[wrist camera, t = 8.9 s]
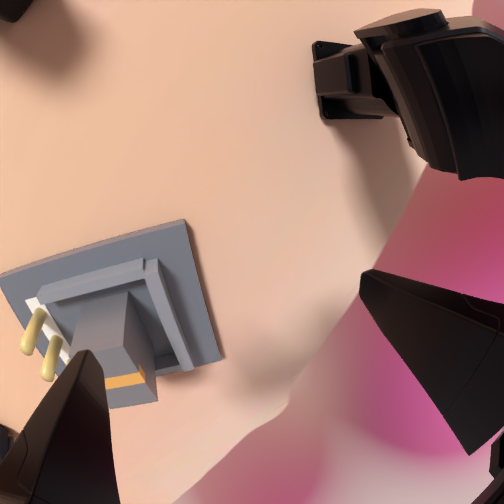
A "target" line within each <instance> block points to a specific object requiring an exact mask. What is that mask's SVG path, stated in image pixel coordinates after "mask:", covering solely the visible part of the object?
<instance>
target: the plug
mask: <svg viewBox="0 0 504 504" xmlns="http://www.w3.org/2000/svg"><path fill="white" fill-rule="evenodd" d="M85 349H89V350H91V351H92V353H93V354H94V356H95V357H96V359H97V360H98V362H99V363H100V365H101V366H102V368H103V371H104V379H105V387H106V395H107V402H108V407H109V408H110V409H114V408H121V407H128V406H134V405H140V404H145V403H151V402H156V401H158V396H157V386H156V376H155V364H154V349H153V344H152V342H151V340H150V338H149V336H148V334H147V332H146V330H145V328H144V326H143V323H142V321H141V319H140V317H139V315H138V312H137V310H136V308H135V306H134V303H133V301H132V299H131V296H130V294H129V291H124V292H120V293H116V294H112V295H108V296H104V297H100V298H97V299H93V300H89V301H85V302H83V305H82V308H81V311H80V314H79V318H78V321H77V325H76V328H75V332H74V336H73V340H72V344H71V348H70V352H69V356H68V357H69V358H70V360H71V359H72V358H73V357H74V355H75V354H76V353H77V352H78V351H80V350H85Z"/></svg>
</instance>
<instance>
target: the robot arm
mask: <svg viewBox="0 0 504 504" xmlns="http://www.w3.org/2000/svg"><path fill="white" fill-rule="evenodd" d="M353 32H354V34H355V35H356V37H357V38H358V39H360V40H361V42H362V44H358V45H355V46H353V45H347V44H340V43H333V42H325V41H316V42H314V43H313V44H312V51H313V58H314V63H313V67H314V75H315V84H316V92H317V94H318V100H319V110H320V116H321V117H322V118H323V119H382V118H383V117H384V116H391V117H400V119H401V121H402V124H403V126H404V129H405V131H406V134H407V137H408V138H407V140H408V143H409V146H410V147H412V148H413V149H415V151H416V152H417V154H418V156H420V157H421V158H422V159H424V160H425V161H426V162H428V163H429V166H430V167H431V168H433V169H436V170H439V171H442V172H449V173H456V174H458V179H459V180H461V181H462V180H467V179H471V178H476V177H495V178H501V179H504V30H502V29H500V28H498V27H496V26H494V25H492V24H490V23H488V22H486V21H484V20H482V19H479V18H477V17H474V16H464V17H454V18H446V19H445V17H444V15H443V13H442V11H441V10H440V9H414V10H410V11H406V12H402V13H398V14H394V15H391V16H389V17H386V18H384V19H381V20H379V21H376V22H374V23H371V24H369V25H367V26H364V27H362V28H360V29H357V30H355V31H353ZM317 45H319V46H320V49H319V48H318V47H317ZM326 110H327V111H328V115H326V114H325V111H326ZM359 295H360V298H361V300H362V301H363V303H364V305H365V306H366V308H367V309H368V311H369V312H370V314H371V316H372V317H373V319H374V320H375V322H376V324H377V325H378V327H379V328H380V330H381V331H382V333H383V334H384V336H385V337H386V338H387V339H388V341H389V342H390V343H391V345H392V346H393V347H394V349H395V350H396V351H397V353H398V354H399V355H400V356H401V358H402V359H403V361H404V362H405V363H406V364H407V366H408V367H409V369H410V370H411V371H412V373H413V374H414V376H415V377H416V378H417V380H418V381H419V383H420V384H421V385H422V387H423V388H424V389H425V391H426V392H427V394H428V395H429V397H430V398H431V400H432V401H433V402H434V404H435V405H436V407H437V408H438V410H439V411H440V413H441V414H442V415H443V417H444V419H445V420H446V422H447V423H448V425H449V426H450V428H451V429H452V431H453V432H454V434H455V436H456V437H457V439H458V440H459V442H460V443H461V445H462V446H463V448H464V450H465V451H466V453H467V454H468V455H469V456H470V455H471V454H472V453H474V452H475V451H476V450H477V449H479V448H480V447H481V446H482V445H483V444H485V443H486V442H487V441H488V440H489V439H490V438H492V437H493V435H495V434H496V433H497V432H498V431H499V430H500V429H502V430H503V431H502V432H501V434H500V435H499V436H498V437H497V439H496V440H495V441H494V442H493V444H492V445H491V458H490V468H489V472H490V474H491V475H492V476H493V477H494V480H493V481H492V482H491V483H490V485H489V486H488V487H487V488H486V489H485V490H484V491H483V492H482V493H481V494H480V495H479V496H478V497H477V498H476V499H475V500H474V501H473V502H472V503H471V504H504V304H502V303H497V302H493V301H488V300H484V299H480V298H476V297H473V296H469V295H466V294H461V293H458V292H455V291H451V290H448V289H444V288H441V287H437V286H433V285H429V284H426V283H423V282H419V281H415V280H412V279H408V278H405V277H401V276H397V275H394V274H390V273H386V272H382V271H379V270H375V269H370V270H367V271H364V272H363V273H362V274H361V279H360V288H359ZM23 429H24V430H22V431H21V433H20V434H19V436H18V438H17V439H16V441H15V442H14V444H13V446H12V447H11V449H10V450H9V452H8V453H7V455H6V456H5V458H4V459H3V460H2V462H1V463H0V504H120V499H119V493H118V488H117V482H116V475H115V468H114V461H113V452H112V442H111V430H110V417H109V408H108V402H107V395H106V387H105V379H104V371H103V368H102V366H101V365H100V363H99V362H98V360H97V359H96V357H95V356H94V354H93V353H92V351H91V350H89V349H85V350H80V351H78V352H77V353H76V354H75V355H74V357H73V358H72V359H71V361H70V362H69V363H68V365H67V366H66V367H65V369H64V370H63V371H62V373H61V374H60V375H59V377H58V378H57V380H56V381H55V382H54V384H53V385H52V387H51V388H50V389H49V391H48V392H47V394H46V395H45V396H44V398H43V399H42V401H41V402H40V404H39V405H38V407H37V408H36V410H35V411H34V413H33V414H32V416H31V417H30V419H29V420H28V422H27V423H26V425H25V427H24V428H23Z"/></svg>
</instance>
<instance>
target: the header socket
mask: <svg viewBox="0 0 504 504" xmlns="http://www.w3.org/2000/svg"><path fill="white" fill-rule="evenodd" d="M0 287H1V289H2V291H3V293H4V295H5V297H6V299H7V301H8V302H9V304H10V306H11V308H12V310H13V311H14V313H15V315H16V316H17V318H18V320H19V321H20V323H21V325H22V326H23V328H24V329H25V333H24V335H23V337H22V340H21V342H20V344H19V349H20V350H21V352H22V353H24V354H25V355H28V356H30V355H32V354H33V351H34V348H35V346H36V348H37V349H38V350H39V352H40V353H41V355H42V356H43V357H44V362H43V365H42V369H41V372H40V376H41V378H42V379H43V380H45V381H47V382H52V381H53V380H54V375H55V373H56V374H57V376H58V377H59V375H60V374H61V373H62V371H63V370H64V369H65V367H66V366H67V365H68V363H69V362H70V361H71V360H70V358H69V357H68V356H69V352H70V348H71V344H72V340H73V336H74V332H75V328H76V325H77V321H78V318H79V314H80V311H81V308H82V305H83V302H85V301H89V300H93V299H97V298H100V297H104V296H108V295H112V294H116V293H120V292H124V291H129V294H130V296H131V299H132V301H133V303H134V306H135V308H136V310H137V312H138V315H139V317H140V319H141V321H142V323H143V326H144V328H145V330H146V332H147V334H148V336H149V338H150V340H151V342H152V344H153V349H154V364H155V376H160V375H164V374H169V373H173V372H177V371H182V370H183V372H186V371H190V370H194V369H195V368H194V367H198V366H201V365H205V364H209V363H213V362H216V361H220V360H221V356H220V353H219V350H218V346H217V343H216V340H215V336H214V333H213V330H212V326H211V323H210V319H209V316H208V312H207V309H206V305H205V301H204V298H203V294H202V290H201V286H200V283H199V279H198V275H197V271H196V267H195V263H194V259H193V255H192V251H191V247H190V243H189V238H188V234H187V230H186V225H185V221H184V219H181V220H177V221H173V222H169V223H165V224H161V225H157V226H154V227H150V228H146V229H142V230H138V231H135V232H131V233H128V234H124V235H120V236H117V237H113V238H110V239H106V240H103V241H99V242H96V243H93V244H89V245H86V246H83V247H79V248H76V249H73V250H70V251H66V252H63V253H60V254H57V255H54V256H51V257H48V258H45V259H42V260H39V261H36V262H33V263H30V264H27V265H24V266H21V267H18V268H15V269H12V270H10V271H7V272H4V273H1V274H0Z"/></svg>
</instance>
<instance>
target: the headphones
mask: <svg viewBox="0 0 504 504" xmlns="http://www.w3.org/2000/svg"><path fill="white" fill-rule="evenodd" d="M13 444H14V439H13V437H12V436H10V437H9V436H8V434H7V432H6V430H5V429H4V428H3V426H0V463H1V462H2V460H3V459H4V458H5V456H6V455H7V453H8V452H9V450H10V449H11V447H12V446H13Z"/></svg>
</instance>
